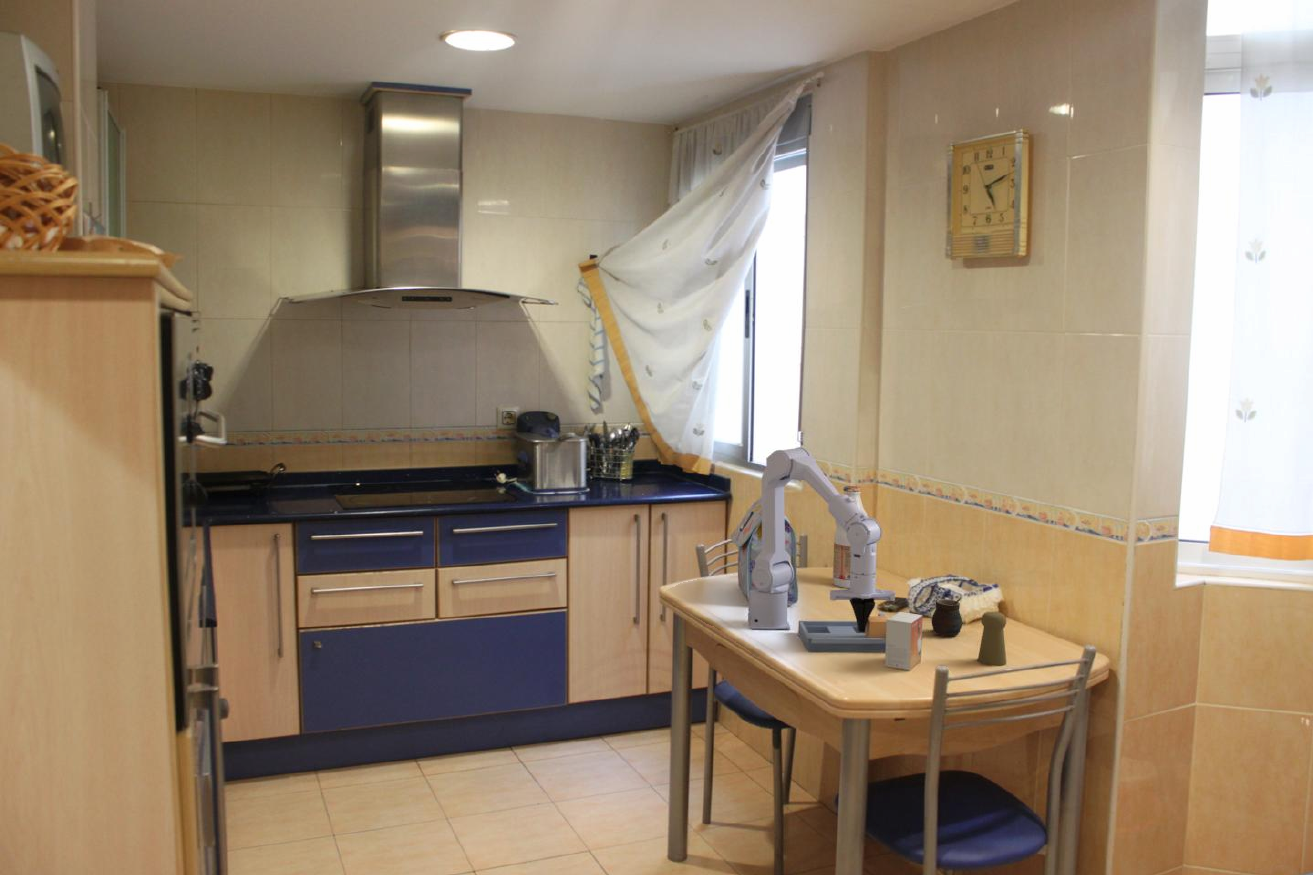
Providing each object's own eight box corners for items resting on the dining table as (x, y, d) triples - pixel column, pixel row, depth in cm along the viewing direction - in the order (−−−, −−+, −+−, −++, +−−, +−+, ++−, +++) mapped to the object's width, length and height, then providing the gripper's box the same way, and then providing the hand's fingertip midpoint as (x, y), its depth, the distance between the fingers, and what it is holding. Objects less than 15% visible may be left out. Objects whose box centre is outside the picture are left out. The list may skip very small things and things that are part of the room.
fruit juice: (826, 584, 308) (828, 486, 305) (846, 579, 315) (848, 483, 312) (853, 590, 302) (856, 490, 299) (873, 585, 308) (876, 487, 305)
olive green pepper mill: (973, 657, 242) (975, 609, 241) (999, 657, 242) (1002, 608, 241) (983, 666, 236) (986, 616, 235) (1011, 665, 236) (1013, 616, 235)
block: (869, 640, 247) (869, 621, 246) (865, 635, 251) (865, 616, 251) (889, 641, 247) (889, 621, 246) (884, 635, 251) (885, 616, 251)
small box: (909, 671, 232) (911, 623, 231) (884, 666, 235) (885, 619, 234) (921, 661, 239) (923, 614, 237) (897, 657, 242) (898, 610, 240)
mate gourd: (940, 628, 265) (942, 588, 264) (968, 635, 260) (971, 594, 259) (924, 633, 260) (926, 592, 259) (953, 641, 255) (955, 599, 254)
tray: (807, 651, 245) (808, 630, 244) (798, 632, 260) (798, 612, 259) (896, 652, 245) (897, 630, 245) (881, 633, 260) (882, 612, 260)
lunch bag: (728, 586, 305) (729, 493, 302) (787, 586, 306) (790, 493, 303) (737, 607, 283) (738, 506, 280) (801, 607, 283) (803, 507, 280)
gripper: (834, 576, 244) (832, 635, 245) (898, 576, 244) (897, 635, 245) (828, 569, 251) (827, 626, 252) (891, 569, 251) (889, 627, 252)
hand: (861, 630), depth 249 cm, fingers closed
